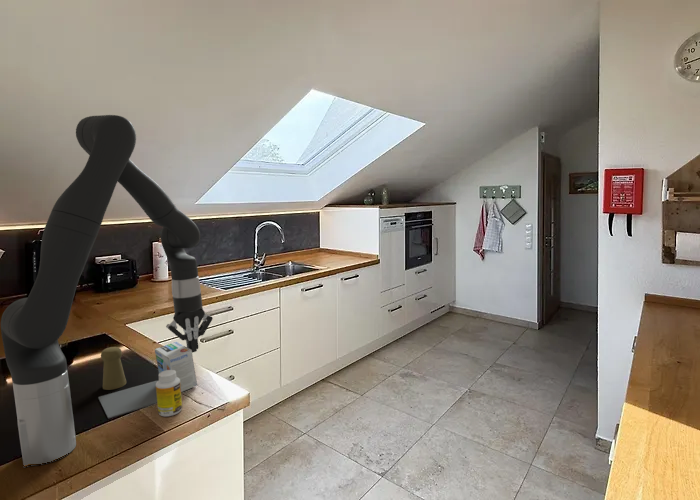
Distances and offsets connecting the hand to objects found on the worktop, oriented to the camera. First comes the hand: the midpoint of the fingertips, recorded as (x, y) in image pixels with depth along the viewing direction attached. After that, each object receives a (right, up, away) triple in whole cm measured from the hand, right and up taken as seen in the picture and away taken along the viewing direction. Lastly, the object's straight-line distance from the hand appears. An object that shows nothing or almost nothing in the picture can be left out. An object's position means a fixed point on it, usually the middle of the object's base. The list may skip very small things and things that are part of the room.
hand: (193, 351), depth 121 cm
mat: (-12, -10, -9) cm, 18 cm away
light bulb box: (-3, -9, -2) cm, 10 cm away
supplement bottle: (0, -11, -16) cm, 20 cm away
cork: (-22, -10, 0) cm, 25 cm away
